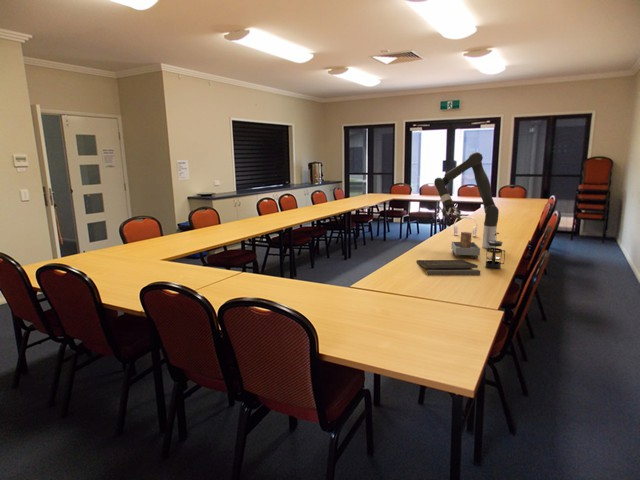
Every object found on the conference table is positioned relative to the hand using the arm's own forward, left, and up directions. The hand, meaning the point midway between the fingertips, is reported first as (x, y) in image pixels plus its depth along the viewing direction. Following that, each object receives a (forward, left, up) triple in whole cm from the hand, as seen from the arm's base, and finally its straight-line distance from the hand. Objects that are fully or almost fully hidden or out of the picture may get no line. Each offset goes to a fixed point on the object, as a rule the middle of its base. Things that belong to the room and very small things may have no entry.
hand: (454, 220), depth 304 cm
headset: (-19, -60, -24) cm, 68 cm away
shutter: (+11, +50, -24) cm, 56 cm away
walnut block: (-6, +15, -18) cm, 25 cm away
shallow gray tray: (-6, +15, -23) cm, 29 cm away
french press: (-19, +44, -24) cm, 53 cm away
